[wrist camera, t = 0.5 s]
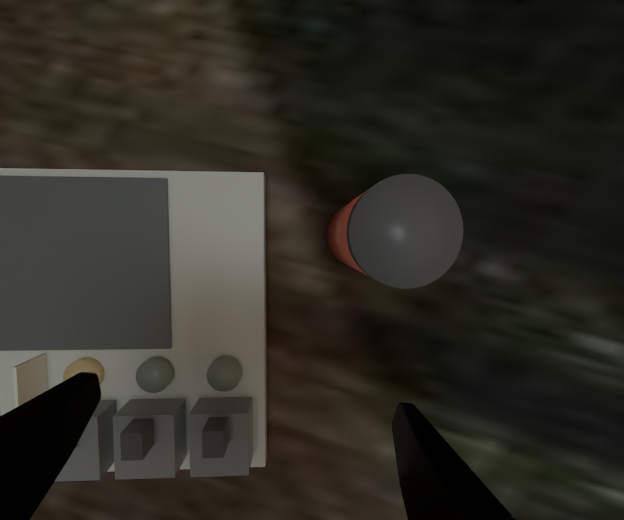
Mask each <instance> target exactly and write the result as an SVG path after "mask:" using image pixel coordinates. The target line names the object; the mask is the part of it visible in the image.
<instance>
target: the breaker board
mask: <svg viewBox="0 0 624 520" xmlns="http://www.w3.org/2000/svg"><path fill="white" fill-rule="evenodd" d="M80 372H91V373H96V374H97V375H98V378H99V383H100V388H101V399H100V402H99V404H98V406H97V408H96V409H95V411H94V413H93V415H92V417H91V419H90V421H89V423H88V425H87V427H86V428H85V430H84V432H83V434H82V436H81V438H80V440H79V442H78V444H77V445H76V447H75V449H74V451H73V453H72V454H71V456H70V458H69V459H68V461H67V463H66V464H65V466H64V467H63V469H62V470H61V472H60V474H59V475H58V477H57V478H56V480H55V481H84V480H100V479H101V478H102V477H103V475H104V474H105V473H106V472H109V471H115V480H116V479H147V478H175V477H176V475H177V473H178V471H179V469H190V477H211V476H242V475H249V472H250V467H265V464H266V457H267V385H266V176H265V174H264V172H204V171H141V170H79V169H17V168H0V415H1V416H2V415H4V414H5V413H7V412H9V411H11V410H13V409H14V408H16V407H18V406H20V405H22V404H23V403H25V402H27V401H29V400H31V399H32V398H34V397H36V396H38V395H40V394H42V393H43V392H45V391H47V390H49V389H51V388H52V387H54V386H56V385H58V384H60V383H61V382H63V381H65V380H67V379H69V378H70V377H72V376H74V375H76V374H78V373H80Z"/></svg>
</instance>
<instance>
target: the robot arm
mask: <svg viewBox="0 0 624 520" xmlns="http://www.w3.org/2000/svg"><path fill="white" fill-rule="evenodd" d="M100 399H101V388H100V383H99V378H98V375H97V374H96V373H91V372H80V373H78V374H76V375H74V376H72V377H70V378H69V379H67V380H65V381H63V382H61V383H60V384H58V385H56V386H54V387H52V388H51V389H49V390H47V391H45V392H43V393H42V394H40V395H38V396H36V397H34V398H32V399H31V400H29V401H27V402H25V403H23V404H22V405H20V406H18V407H16V408H14V409H13V410H11V411H9V412H7V413H5V414H4V415H2V416H0V520H30V518H31V517H32V515H33V514H34V512H35V510H36V509H37V507H38V506H39V504H40V503H41V501H42V500H43V498H44V497H45V495H46V494H47V492H48V490H49V489H50V487H51V486H52V484H53V483H54V481H55V480H56V478H57V477H58V475H59V474H60V472H61V470H62V469H63V467H64V466H65V464H66V463H67V461H68V459H69V458H70V456H71V454H72V453H73V451H74V449H75V447H76V445H77V444H78V442H79V440H80V438H81V436H82V434H83V432H84V430H85V428H86V427H87V425H88V423H89V421H90V419H91V417H92V415H93V413H94V411H95V409H96V408H97V406H98V404H99V402H100ZM392 431H393V438H394V446H395V453H396V461H397V468H398V475H399V482H400V487H401V491H402V496H403V500H404V504H405V509H406V513H407V517H408V520H515V518H512V516H511V514H510V513H509V512H508V511H507V509H506V508H505V507H504V506H503V505H502V504H501V503H500V502H499V500H498V499H497V498H496V497H495V496H494V495H493V494H492V493H491V491H490V490H489V489H488V488H487V487H486V486H485V485H484V483H483V482H482V481H481V480H480V479H479V478H478V477H477V476H476V474H475V473H474V472H473V471H472V470H471V469H470V468H469V467H468V465H467V464H466V463H465V462H464V461H463V460H462V459H461V457H460V456H459V455H458V454H457V453H456V452H455V451H454V450H453V448H452V447H451V446H450V445H449V444H448V443H447V442H446V441H445V439H444V438H443V437H442V436H441V435H440V434H439V433H438V431H437V430H436V429H435V428H434V427H433V426H432V425H431V424H430V422H429V421H428V420H427V419H426V418H425V417H424V416H423V415H422V413H421V412H420V411H419V410H418V409H417V408H416V407H415V406H414V405H413V404H411V403H402V402H401V403H399V404H398V406H397V409H396V412H395V415H394V418H393V421H392Z"/></svg>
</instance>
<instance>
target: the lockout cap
mask: <svg viewBox="0 0 624 520" xmlns="http://www.w3.org/2000/svg"><path fill="white" fill-rule="evenodd" d="M462 239H463V222H462V216H461V213H460V210H459V208H458V205H457V203H456V202H455V200H454V198H453V197H452V196H451V194H450V193H449V192H448V191H447V190H446V189H445V188H444V187H443V186H442V185H440V184H439V183H437V182H436V181H434V180H432V179H430V178H427V177H425V176H421V175H416V174H401V175H395V176H392V177H389V178H386V179H384V180H382V181H380V182H379V183H377V184H376V185H374V186H373V187H371V188H370V189H368V190H367V191H365V192H364V193H362V194H361V195H360V196H358V197H357V198H355V199H354V200H352V201H351V202H349V203H348V204H347V205H345V206H344V207H342V208H341V209H339V210H338V211H337V212H336V213H335V214H334V215H333V216H332V218H331V219H330V221H329V223H328V226H327V230H326V240H327V245H328V247H329V250H330V251H331V253H332V254H333V256H334V257H335V258H336V259H338V260H339V261H340V262H342V263H344V264H346V265H348V266H350V267H352V268H354V269H356V270H358V271H359V272H361V273H363V274H365V275H367V276H369V277H371V278H373V279H375V280H377V281H379V282H381V283H383V284H385V285H388V286H391V287H395V288H403V289H409V288H417V287H421V286H424V285H427V284H429V283H431V282H433V281H435V280H436V279H438V278H439V277H441V276H442V275H443V274H444V273H445V272H446V271H447V270H448V269H449V268H450V267H451V265H452V264H453V262H454V261H455V259H456V257H457V255H458V253H459V250H460V248H461V244H462Z"/></svg>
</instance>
